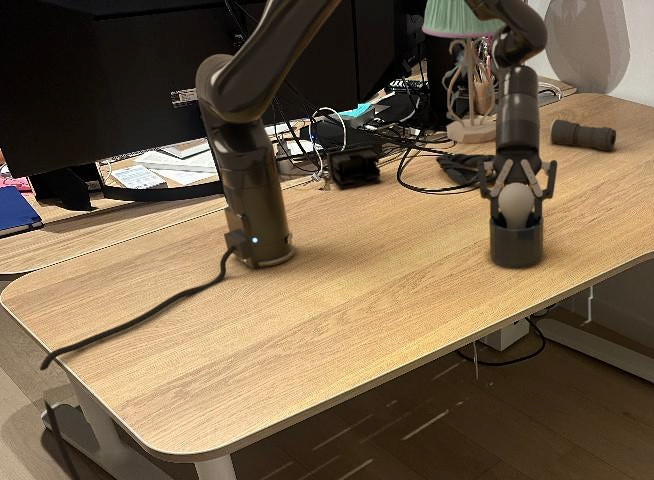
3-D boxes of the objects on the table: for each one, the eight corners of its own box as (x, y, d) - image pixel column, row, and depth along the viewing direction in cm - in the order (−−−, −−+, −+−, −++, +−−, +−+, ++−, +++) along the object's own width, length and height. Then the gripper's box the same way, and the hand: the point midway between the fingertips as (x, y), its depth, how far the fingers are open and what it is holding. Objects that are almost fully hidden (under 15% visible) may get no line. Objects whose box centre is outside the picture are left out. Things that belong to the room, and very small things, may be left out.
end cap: (373, 172, 167) (369, 141, 163) (383, 182, 162) (379, 151, 158) (329, 179, 164) (324, 149, 160) (338, 190, 159) (333, 159, 155)
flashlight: (617, 147, 178) (619, 124, 175) (609, 154, 174) (611, 131, 171) (558, 138, 184) (558, 116, 180) (548, 145, 180) (549, 122, 177)
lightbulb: (532, 236, 133) (533, 176, 127) (535, 251, 128) (535, 190, 122) (498, 237, 133) (497, 177, 127) (499, 253, 128) (498, 191, 122)
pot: (517, 273, 126) (517, 235, 122) (479, 257, 132) (478, 220, 128) (553, 255, 132) (554, 218, 128) (515, 240, 137) (515, 204, 133)
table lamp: (497, 118, 199) (494, -56, 175) (529, 142, 182) (531, -47, 159) (419, 128, 193) (405, -51, 169) (444, 154, 176) (433, -40, 153)
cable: (425, 170, 167) (424, 151, 165) (477, 157, 174) (476, 138, 171) (468, 193, 156) (468, 172, 154) (522, 178, 163) (522, 158, 160)
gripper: (474, 117, 125) (472, 212, 123) (560, 116, 125) (559, 212, 122) (477, 138, 133) (475, 229, 130) (558, 138, 132) (558, 229, 129)
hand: (516, 220), depth 126 cm, fingers closed on lightbulb, 6 cm apart
